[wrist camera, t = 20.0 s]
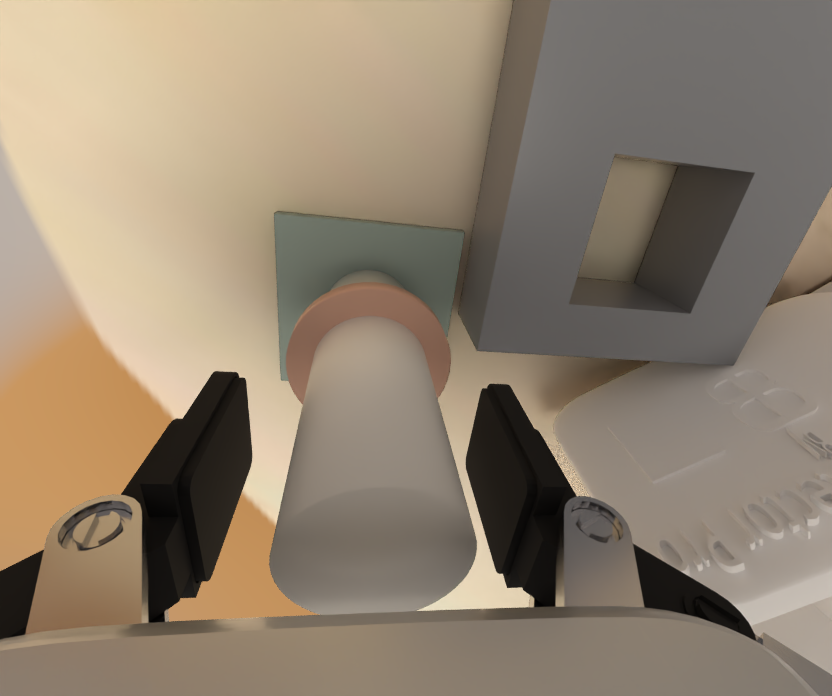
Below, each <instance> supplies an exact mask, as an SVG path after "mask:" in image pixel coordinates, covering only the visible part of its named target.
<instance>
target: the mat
mask: <svg viewBox="0 0 832 696" xmlns="http://www.w3.org/2000/svg"><path fill="white" fill-rule="evenodd" d="M274 222H275V247H276V272H277V297H278V322H279V347H280V372H281V380H284V381H289V379H288V376H287V370H286V353H287V348H288V344H289V341H290V338H291V335H292V333H293V330H294V327H295V325H296V323H297V321H298V319H299V318H300V316H301V315H302V314H303V312H304V311H305V310H306V308H307V307H308V306H309V305H311V304H312V303H313V302H314V301H315V300H316V299H318V298H319V297H320V296H322V295H323V294H325V293H327V292H329V291H330V290H331V288H332V287H333V286H334V284H335V283H336V282H337V281H338V280H340V279H341V278H342V277H344V276H346V275H348V274H350V273H353V272H356V271H360V270H375V271H380V272H383V273H386V274H388V275H390V276H392V277H393V278H395V279H396V280H397V281H398V282H399V283H400V284H401V285H402V286H403V287H404V289H405V290H407V291H409V292H410V293H412V294H414V295H415V296H417V297H418V298H420V299H421V300H422V301H423V302H425V303H426V304H427V305H428V306H429V307H430V308H431V310H432V311H433V312H434V314H435V315H436V316H437V318H438V320H439V322H440V323H441V325H442V328H443V330H444V333H445V335H446V338H447V335H448V329H449V323H450V317H451V311H452V305H453V299H454V293H455V287H456V281H457V275H458V270H459V264H460V258H461V252H462V246H463V240H464V234H465V233H464V232H463V231H462V230H456V229H446V228H436V227H426V226H417V225H407V224H397V223H387V222H377V221H367V220H358V219H348V218H338V217H328V216H318V215H308V214H299V213H289V212H279V211H277V212H276V213H274Z"/></svg>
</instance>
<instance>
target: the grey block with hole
mask: <svg viewBox="0 0 832 696" xmlns="http://www.w3.org/2000/svg"><path fill="white" fill-rule="evenodd" d="M614 157H620V158H628V159H635V160H642V161H650V162H657V163H664V164H672V165H679V166H678V168H677V171H676V174H675V176H674V179H673V182H672V184H671V187H670V190H669V192H668V195H667V198H666V200H665V203H664V206H663V208H662V211H661V214H660V216H659V219H658V222H657V224H656V227H655V229H654V232H653V235H652V237H651V240H650V243H649V245H648V248H647V251H646V253H645V256H644V259H643V261H642V264H641V267H640V269H639V272H638V275H637V277H636V280H635V283H632V282H621V281H609V280H598V279H587V278H577V276H578V273H579V269H580V266H581V263H582V260H583V256H584V253H585V250H586V247H587V243H588V240H589V237H590V234H591V230H592V227H593V224H594V221H595V217H596V214H597V211H598V208H599V204H600V201H601V198H602V195H603V191H604V188H605V185H606V182H607V178H608V175H609V172H610V169H611V165H612V162H613V159H614ZM831 187H832V0H514V1H513V7H512V13H511V18H510V24H509V29H508V35H507V41H506V46H505V52H504V58H503V63H502V69H501V74H500V80H499V86H498V91H497V97H496V103H495V108H494V114H493V120H492V125H491V131H490V136H489V142H488V148H487V153H486V159H485V165H484V170H483V176H482V181H481V187H480V193H479V198H478V204H477V210H476V215H475V221H474V227H473V232H472V238H471V243H470V249H469V255H468V260H467V266H466V272H465V277H464V283H463V288H462V294H461V300H460V305H459V311H458V314H459V316H460V318H461V320H462V322H463V324H464V326H465V328H466V330H467V332H468V334H469V336H470V338H471V340H472V342H473V344H474V346H475V348H476V350H477V351H486V352H503V353H521V354H538V355H556V356H573V357H591V358H608V359H626V360H643V361H661V362H678V363H696V364H713V365H730V366H734V364H735V362H736V361H737V359H738V357H739V355H740V353H741V351H742V350H743V348H744V346H745V344H746V342H747V340H748V339H749V337H750V335H751V333H752V331H753V329H754V328H755V326H756V324H757V322H758V320H759V318H760V317H761V315H762V313H763V311H764V309H765V307H766V306H767V304H768V302H769V300H770V298H771V296H772V295H773V293H774V291H775V289H776V287H777V285H778V284H779V282H780V280H781V278H782V276H783V274H784V273H785V271H786V269H787V267H788V265H789V263H790V262H791V260H792V258H793V256H794V254H795V253H796V251H797V249H798V247H799V245H800V243H801V242H802V240H803V238H804V236H805V234H806V232H807V231H808V229H809V227H810V225H811V223H812V221H813V220H814V218H815V216H816V214H817V212H818V210H819V209H820V207H821V205H822V203H823V201H824V199H825V198H826V196H827V194H828V192H829V190H830V188H831Z"/></svg>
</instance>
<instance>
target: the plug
mask: <svg viewBox="0 0 832 696" xmlns="http://www.w3.org/2000/svg"><path fill="white" fill-rule="evenodd" d="M450 364H451V357H450V349H449V344H448V341H447V338H446V335H445V333H444V330H443V328H442V325H441V323H440V322H439V320H438V318H437V316H436V315H435V314H434V312H433V311H432V310H431V308H430V307H429V306H428V305H427V304H426V303H425V302H423V301H422V300H421V299H420V298H418V297H417V296H415V295H414V294H412V293H410V292H409V291H407V290H405V289H404V287H403V286H402V285H401V284H400V283H399V282H398V281H397V280H396V279H395V278H393V277H392V276H390V275H388V274H386V273H383V272H380V271H375V270H360V271H356V272H353V273H350V274H348V275H346V276H344V277H342V278H341V279H340V280H338V281H337V282H336V283H335V284H334V286H333V287H332V288H331V290H330V291H329V292H327V293H325V294H323V295H322V296H320V297H319V298H318V299H316V300H315V301H314V302H313V303H312V304H311V305H309V306H308V307H307V308H306V310H305V311H304V312H303V314H302V315H301V316H300V318H299V319H298V321H297V323H296V325H295V327H294V330H293V333H292V335H291V338H290V341H289V344H288V348H287V353H286V370H287V376H288V379H289V383H290V385H291V387H292V390H293V392H294V393H295V395H296V396H297V398H298V399H299V401H300V402H301V403H302V404H303V407H302V411H301V416H300V420H299V425H298V429H297V434H296V439H295V443H294V448H293V452H292V457H291V461H290V466H289V470H288V475H287V479H286V484H285V488H284V493H283V497H282V502H281V507H280V511H279V516H278V520H277V525H276V529H275V534H274V538H273V543H272V548H271V552H270V563H269V565H270V571H271V575H272V577H273V579H274V582H275V583H276V585H277V586H278V588H279V589H280V590H281V592H282V593H283V594H284V595H285V596H286V597H288V598H289V599H290V600H291V601H293V602H294V603H296V604H297V605H299V606H301V607H302V608H305V609H307V610H309V611H311V612H314V613H317V614H320V615H332V614H358V613H383V612H410V611H417V610H419V609H421V608H424V607H426V606H428V605H430V604H432V603H434V602H436V601H438V600H439V599H441V598H443V597H444V596H446V595H447V594H448V593H450V592H451V591H452V590H453V589H455V588H456V587H457V586H458V585H459V584H460V583H461V582H462V580H463V579H464V578H465V577H466V575H467V574H468V572H469V570H470V569H471V567H472V565H473V562H474V560H475V556H476V550H477V541H476V536H475V532H474V528H473V525H472V521H471V518H470V514H469V510H468V507H467V503H466V500H465V496H464V492H463V489H462V485H461V482H460V478H459V474H458V471H457V467H456V464H455V460H454V457H453V453H452V449H451V446H450V442H449V439H448V435H447V431H446V428H445V424H444V421H443V417H442V413H441V410H440V406H439V403H438V399H437V398H438V397H439V396H440V394H441V392H442V391H443V389H444V387H445V384H446V382H447V380H448V376H449V372H450Z"/></svg>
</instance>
